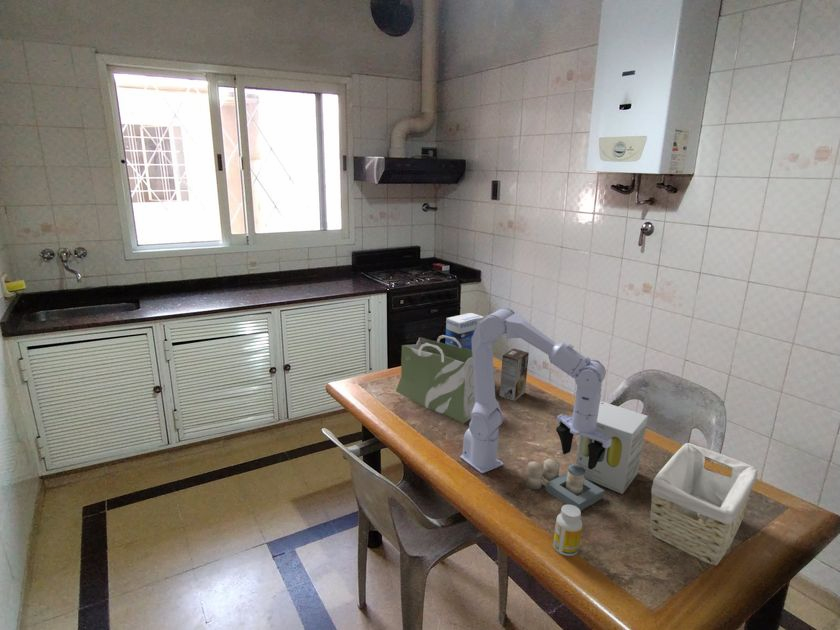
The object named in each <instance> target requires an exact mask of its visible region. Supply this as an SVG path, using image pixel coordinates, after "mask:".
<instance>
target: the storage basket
mask: <svg viewBox="0 0 840 630" xmlns="http://www.w3.org/2000/svg"><path fill="white" fill-rule="evenodd" d="M706 461H708V462H711V463H712V464H716V465H718V466H721V467H722V468H726V469H728V470H731V476H727V475H723V474H721V473H717V472H714V471H711V470H708V469H706V468H705V462H706ZM758 472H759V471H758V469H757V467H756V466H754V465H750V464H748V463H745V462H744V461H740V460H738V459H737V458H733V457H730V456H727V455H725V454H723V453H719V452H717V451H715V450H714V451H713V450H710V449H708V448H705V447H701V446H698V445H695V444H694V443H690V442H686V443H684V444H682V446H681V447H680V448H679V449H678V450H677V451H675V453H674V454H673V455H672V456H671V457H670V459H669V460H668V461H667V462H666V463H665V465H664V466H663V467H662V468H661V469H660V470H659V472H658V473H657V474H656V475H655V477H654V478H653V481H652V482H653V483H652V486H651V488H650V489H651V503H650V504H651V505H650V506H651V507H650V513H649V516H650V517H649V518H650V520H649V521H650V525H649V533H650V534H651V536H653V537H654V538H656V539H659V540H661V541H662V542H665V543H667V544H668V545H670V546H673V547H674V548H675V549H678V550H680V551H682V552H684V553H686V554H688V555H690V556H692V557H694V558H697V559H699V560H700V561H702V562H703V563H706V564H710V565H711V566H716V567H717V566H718V565H719V563H720V562H721V561H722V559H723V557H724V556H725V555H726V553H727V550H729V549H730V548H731V545H732V543H733V541H734V539H735V536H737V533H738V531H739V530H740V529H739V528H740V526H741V524H742V521H743V520H744V515H745V510H746V508H747V504H748V501H749V500H750V494H751V491H752V490H753V487H754V485H755V483H756V481H757V480H758V479H757V477H758Z"/></svg>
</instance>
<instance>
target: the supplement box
mask: <svg viewBox="0 0 840 630" xmlns="http://www.w3.org/2000/svg"><path fill="white" fill-rule="evenodd" d="M648 419H649V415H646V414H644V413H643V414H642V413H640V412H637V411H633V410H630V409H627V408H624V407H623V406H622V407H621V406H618V405H614V404H611V403H609V402H605V401H602V400H600V405H599V412H598V418H597V425H596V428H598V429H599V430H600V431H601V432H603V433H604V434H605V435H606V436H608V437H609V438H611V439H612V443H611V446H610V447H608V448H607V449H606V450H605V451H604V452H603V454H602V455H601V457H600V458H599V460H598V462H597V464H596V467H595V468H593V469H589V468H588V461H589V449H588V444H591V443H594V440H592V439H590V438H588V437H585V436H582V435H579V439H578V445H577V446H578V447H577V452H576V453H577V454H576V461H575V464H577V465H580V466H582V467H584V469H585V476H584V479H586V480H588V481H589V482H591V483H595V484H597V485H600V486H602V487H605V488H607V489H609V490H612V491H614V492H616V493H619V494H620V495H622V494H624V493H625V491H626V490H627V489H628V488H629V486H631V485H630V484H632V482H633V481H634V479H635V478H636V476H637V475H638V474H639V468H640V463H641V458H642V453H643V445H644V440H645V436H646V435H645V434H646V430H647V425H648Z"/></svg>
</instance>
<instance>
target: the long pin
mask: <svg viewBox="0 0 840 630" xmlns="http://www.w3.org/2000/svg"><path fill="white" fill-rule="evenodd" d="M567 469H568V470H567V473H568V475H567V482H566V488H565V489H567V490H568V491H570V492H571V493H573V494H574V495H576V496H579V495H580V494H582V493H583V492H582V489H583V483H584V479H585V478H584V476H585V469H584V467H582V466H580V465H577V464H576V463H573V464H569V465H568V468H567Z"/></svg>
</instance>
